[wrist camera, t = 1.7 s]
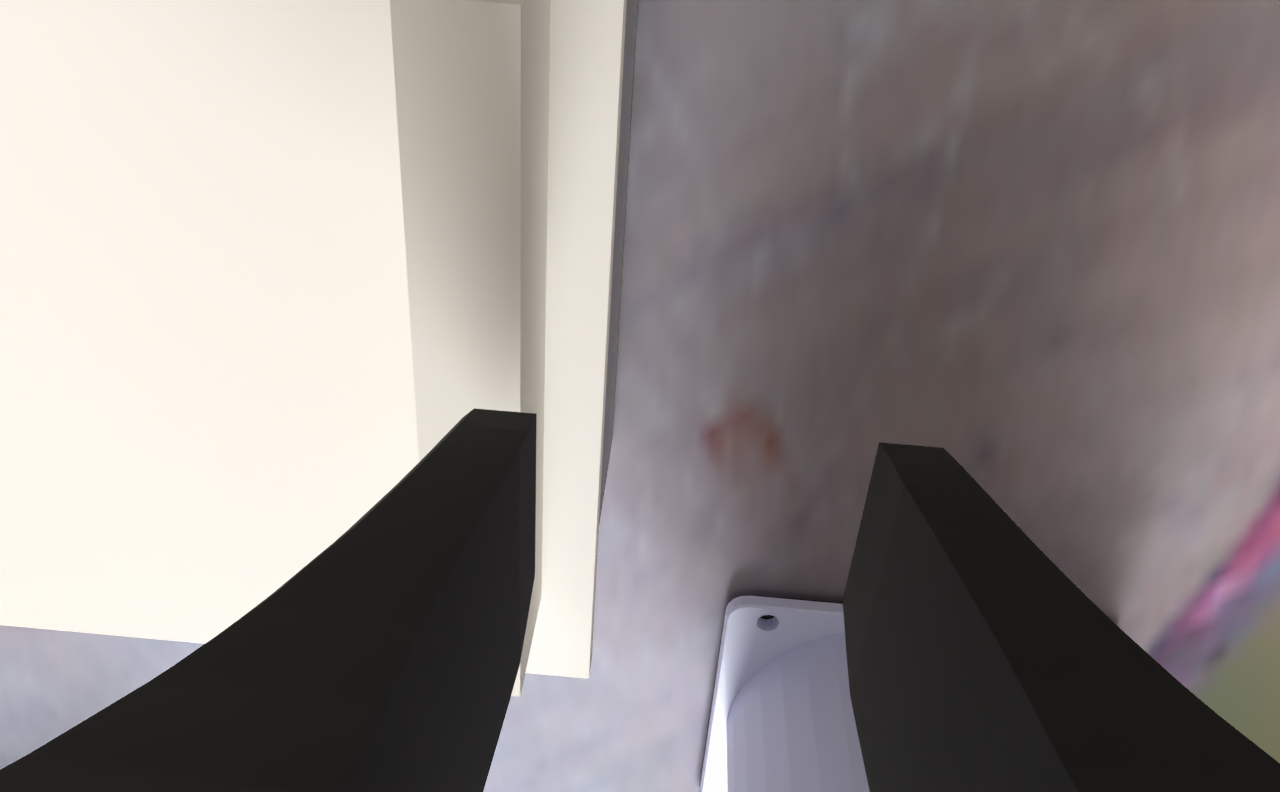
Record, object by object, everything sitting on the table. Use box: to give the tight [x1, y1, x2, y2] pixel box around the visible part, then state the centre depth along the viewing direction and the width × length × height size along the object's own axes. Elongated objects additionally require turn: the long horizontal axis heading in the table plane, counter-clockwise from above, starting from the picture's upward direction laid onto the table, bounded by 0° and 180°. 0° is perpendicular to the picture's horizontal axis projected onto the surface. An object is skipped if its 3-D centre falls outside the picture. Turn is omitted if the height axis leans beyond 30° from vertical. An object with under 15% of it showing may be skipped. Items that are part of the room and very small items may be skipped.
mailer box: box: [599, 0, 638, 522], centre depth 16 cm, size 16×12×6 cm
